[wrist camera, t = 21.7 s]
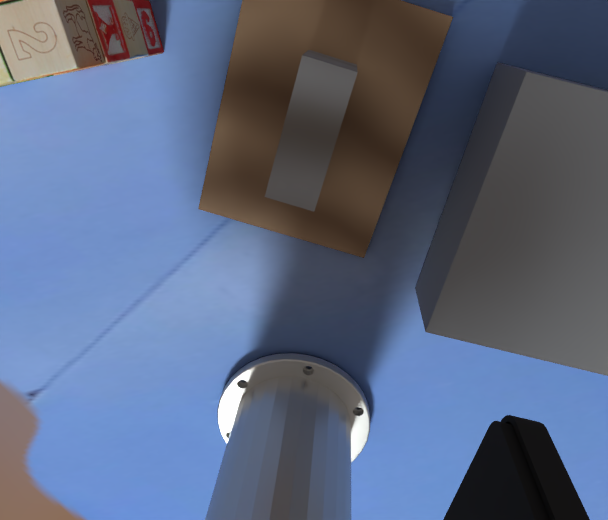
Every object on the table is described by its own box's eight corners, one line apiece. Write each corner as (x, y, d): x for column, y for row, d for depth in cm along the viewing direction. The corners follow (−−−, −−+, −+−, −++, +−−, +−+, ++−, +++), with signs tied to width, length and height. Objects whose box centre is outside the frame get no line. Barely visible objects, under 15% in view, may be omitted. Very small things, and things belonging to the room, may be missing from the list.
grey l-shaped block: (663, 348, 40) (712, 401, 34) (415, 287, 39) (425, 331, 34) (794, 137, 33) (882, 161, 28) (497, 62, 33) (526, 71, 27)
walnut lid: (363, 249, 39) (365, 291, 33) (203, 202, 38) (177, 236, 32) (448, 16, 32) (470, 17, 26) (256, -45, 32) (235, -59, 26)
